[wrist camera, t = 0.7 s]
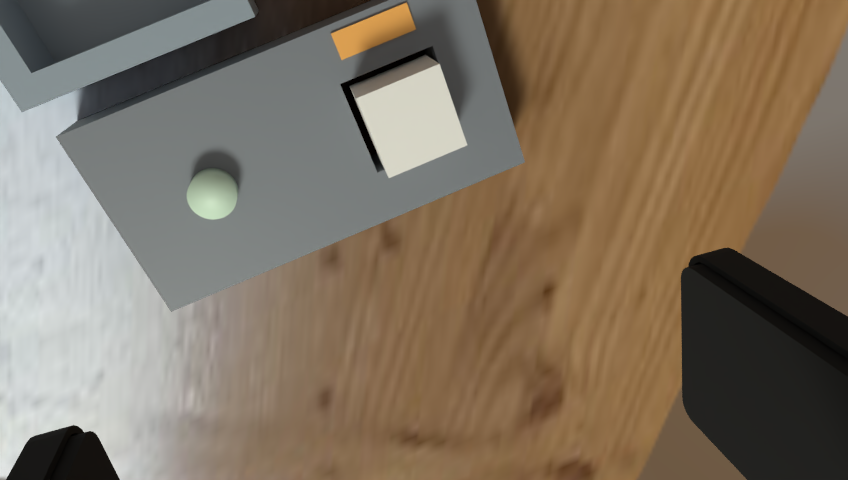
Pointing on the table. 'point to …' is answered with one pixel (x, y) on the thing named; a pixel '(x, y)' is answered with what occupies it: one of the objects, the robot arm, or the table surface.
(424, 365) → the table surface
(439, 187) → the breaker panel
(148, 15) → the frame
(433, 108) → the breaker button
